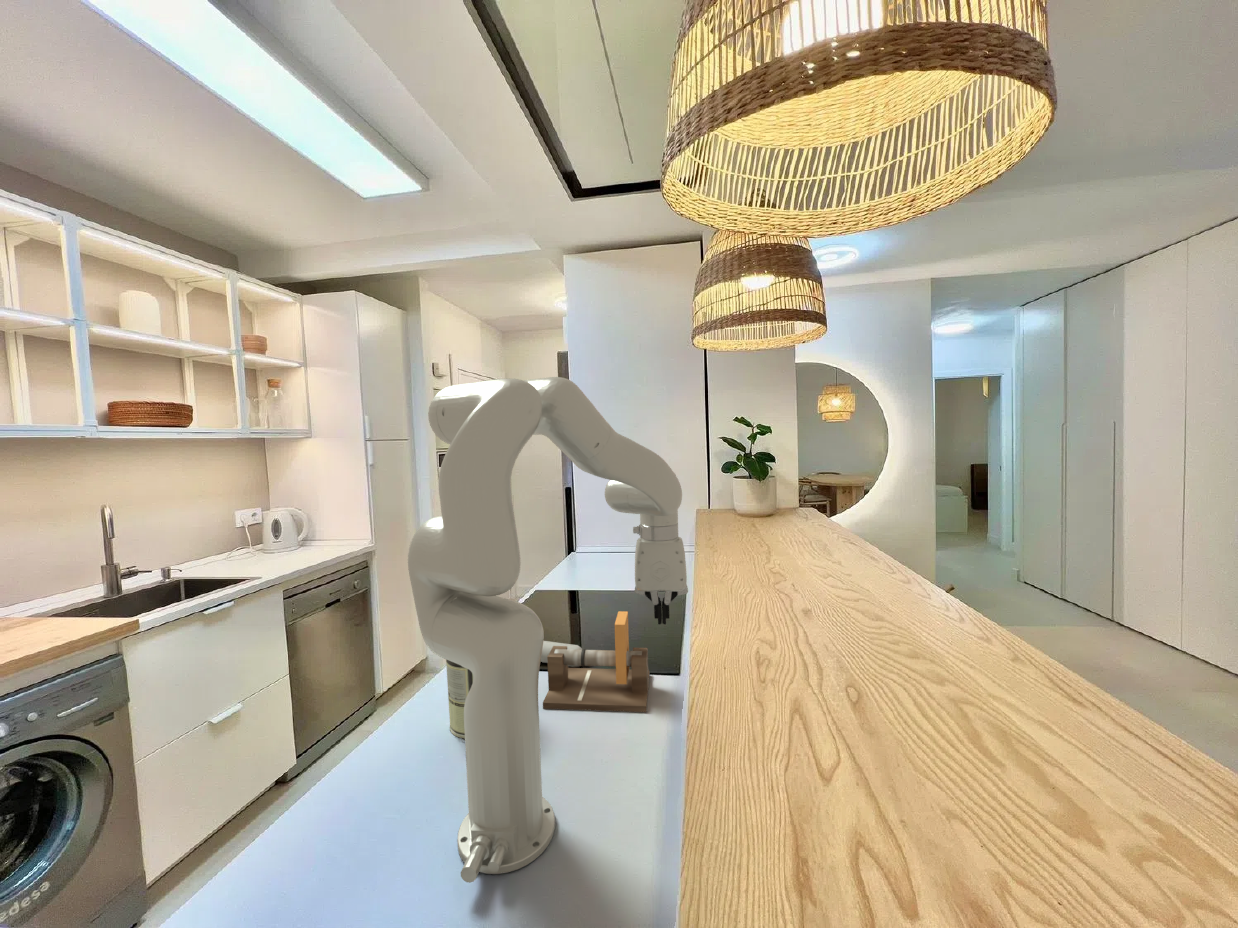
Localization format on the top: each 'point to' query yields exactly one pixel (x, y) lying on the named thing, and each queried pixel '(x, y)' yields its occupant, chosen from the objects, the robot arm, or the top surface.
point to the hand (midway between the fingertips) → (662, 621)
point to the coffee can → (457, 695)
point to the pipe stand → (596, 681)
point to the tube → (548, 645)
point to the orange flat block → (621, 647)
